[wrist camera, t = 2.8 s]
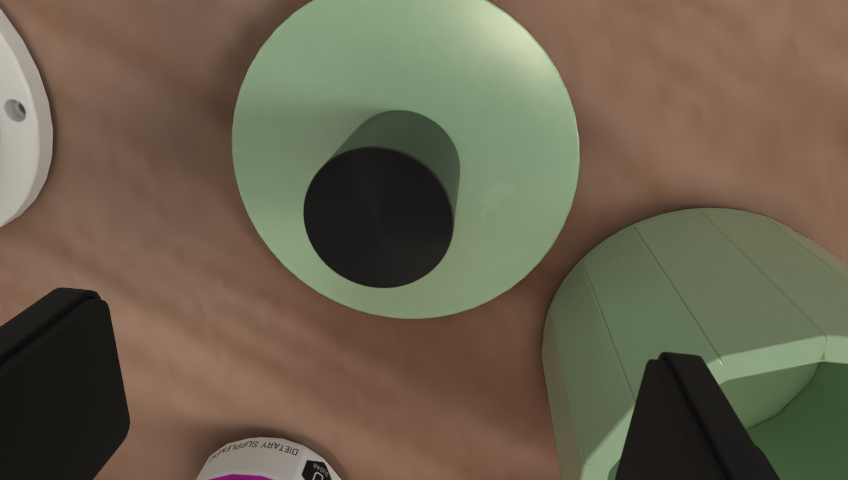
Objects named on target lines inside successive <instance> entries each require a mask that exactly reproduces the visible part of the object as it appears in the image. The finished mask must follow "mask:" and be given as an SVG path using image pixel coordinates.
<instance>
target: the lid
mask: <svg viewBox="0 0 848 480" xmlns="http://www.w3.org/2000/svg"><path fill="white" fill-rule="evenodd" d="M232 157H233V164H234V172H235V177H236V181H237V184H238V188H239V192H240V196H241V198H242V201H243V203H244V206H245V208H246V210H247V213H248V215H249V217H250V219H251V221H252V223H253V225H254V226H255V228H256V230H257V232H258V234H259V235H260V236H261V238H262V239H263V241H264V242H265V243H266V245H267V246H268V248H269V249H270V250H271V252H272V253H273V254H274V255H275V256H276V257H277V258H278V259H279V260H280V262H281V263H282V264H283V265H284V266H285V267H286V268H287V269H288V270H290V271H291V272H292V273H293V274H294V275H295V276H296V277H298V278H299V279H300V280H301V281H303V282H304V283H305V284H307V285H308V286H310V287H311V288H313V289H314V290H315V291H317V292H319V293H320V294H322V295H324V296H326V297H328V298H330V299H332V300H333V301H335V302H338V303H340V304H343V305H345V306H348V307H350V308H352V309H355V310H359V311H362V312H366V313H369V314H373V315H379V316H385V317H391V318H404V319H421V318H435V317H440V316H446V315H451V314H456V313H459V312H462V311H465V310H469V309H472V308H475V307H477V306H479V305H481V304H484V303H486V302H488V301H490V300H492V299H494V298H496V297H497V296H499V295H501V294H502V293H504V292H506V291H507V290H509V289H510V288H512V287H513V286H514V285H515V284H517V283H518V282H519V281H521V280H522V279H523V278H524V277H526V276H527V275H528V274H529V273H530V272H531V271H532V270H533V268H534V267H535V266H536V265H537V264H538V263H539V262H540V261H541V260H542V259H543V257H544V256H545V255H546V253H547V252H548V251H549V249H550V248H551V247H552V246H553V244H554V242H555V240H556V239H557V237H558V235H559V233H560V232H561V230H562V228H563V226H564V224H565V221H566V219H567V217H568V214H569V212H570V209H571V207H572V203H573V199H574V195H575V191H576V187H577V181H578V173H579V164H580V155H579V135H578V129H577V123H576V117H575V113H574V110H573V107H572V104H571V100H570V97H569V94H568V91H567V89H566V87H565V85H564V83H563V81H562V79H561V77H560V74H559V72H558V70H557V69H556V67H555V66H554V64H553V63H552V61H551V60H550V58H549V57H548V55H547V53H546V52H545V50H544V49H543V48H542V47H541V46H540V44H539V43H538V42H537V41H536V40H535V39H534V38H533V36H532V35H531V34H530V33H529V32H528V31H527V30H526V29H525V28H524V27H523V26H522V25H520V24H519V23H518V22H517V21H516V20H515V19H513V18H512V17H511V16H510V15H509V14H508V13H506V12H505V11H503V10H502V9H500V8H498V7H497V6H495V5H494V4H492V3H491V2H489V1H487V0H312V1H311V2H309V3H308V4H306V5H305V6H303V7H302V8H300V9H299V10H297V11H296V12H294V13H293V14H292V15H291V16H290V17H289V18H287V19H286V20H285V21H284V22H283V23H282V24H281V25H280V26H279V27H278V28H276V30H275V31H274V32H273V33H272V34H271V36H270V37H269V38H268V39H267V41H266V42H265V43H264V44H263V45H262V47H261V48H260V50H259V51H258V53H257V55H256V56H255V58H254V60H253V61H252V63H251V65H250V66H249V69H248V71H247V73H246V76H245V78H244V80H243V83H242V85H241V88H240V91H239V95H238V99H237V102H236V106H235V110H234V118H233V126H232Z"/></svg>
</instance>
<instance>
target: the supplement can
mask: <svg viewBox="0 0 848 480" xmlns="http://www.w3.org/2000/svg"><path fill="white" fill-rule="evenodd" d="M196 480H341V479H340V478H339V476H338V475H337V474H336V473H335V472H334V470H333V469H332V468H331V467H330V465H329V464H328V463H327V462H326V461H325V460H324V459H323V458H322V457H321V456H319V455H318V454H316V453H315V452H313V451H312V450H310V449H309V448H307V447H306V446H304V445H301V444H298V443H295V442H292V441H289V440H286V439H283V438H268V437H257V438H248V439H244V440H240V441H236V442H232V443H228V444H226V445H225V446H223V447H222V448H220V449H219V450H218V451H216V452H215V453H213V454H212V455H211V456H209V458H208V460H207V461H206V463H205V465H204V467H203V468H202V470H201V472H200V473H199V475H198V477H197V479H196Z"/></svg>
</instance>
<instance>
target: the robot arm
mask: <svg viewBox="0 0 848 480" xmlns="http://www.w3.org/2000/svg"><path fill="white" fill-rule="evenodd" d="M52 147H53V126H52V120H51V114H50V107H49V101H48V98H47V95H46V92H45V89H44V86H43V83H42V80H41V77H40V74H39V71H38V69H37V67H36V65H35V63H34V61H33V59H32V57H31V55H30V53H29V51H28V49H27V47H26V45H25V43H24V41H23V40H22V38H21V37H20V35H19V34H18V32H17V31H16V30H15V28H14V27H13V25H12V24H11V22H10V21H9V20H8V18H7V17H6V15H5V14H4V13H3V11H2V10H1V9H0V227H2V226H4V225H6V224H7V223H9V222H11V221H12V220H14V219H15V218H17V217H19V216H20V215H22V214H23V212H24V211H25V210H26V209H27V208H28V207H29V206H30V205H31V204H32V203H33V202H34V201H35V200H36V198H37V196H38V194H39V192H40V191H41V189H42V187H43V185H44V183H45V181H46V179H47V175H48V171H49V167H50V163H51V159H52ZM129 426H130V417H129V412H128V406H127V401H126V396H125V391H124V385H123V380H122V375H121V369H120V364H119V359H118V353H117V348H116V343H115V337H114V332H113V327H112V321H111V316H110V311H109V307H108V304H107V303H106V302H105V301H104V300H101V298H100V296H99V295H98V293H97V292H95V291H92V290H83V289H73V288H57V289H55V290H53V291H51V292H50V293H48V294H47V295H46V296H44V297H43V298H41V299H40V300H38V301H37V302H36V303H34V304H33V305H31V306H30V307H28V308H27V309H25V310H24V311H23V312H21V313H20V314H18V315H17V316H15V317H14V318H12V319H11V320H10V321H8V322H7V323H5V324H4V325H2V326H1V327H0V480H93V479H94V477H95V476H96V475H97V474H98V472H99V471H100V470H101V469H102V467H103V466H104V465H105V464H106V462H107V461H108V460H109V459H110V457H111V456H112V455H113V454H114V452H115V451H116V450H117V449H118V447H119V446H120V445H121V444H122V442H123V441H124V439H125V438H126V436H127V433H128V430H129ZM615 480H780V478H779V477H778V475H777V473H776V472H775V470H774V469H773V467H772V465H771V464H770V462H769V460H768V459H767V457H766V455H765V454H764V453H763V452H762V450H761V449H760V448H759V447H758V446H756V445H755V444H754V443H753V441H752V439H751V438H750V436H749V434H748V433H747V431H746V429H745V428H744V426H743V424H742V423H741V421H740V419H739V418H738V416H737V414H736V413H735V411H734V409H733V408H732V406H731V404H730V403H729V401H728V399H727V398H726V396H725V395H724V393H723V391H722V390H721V388H720V386H719V385H718V383H717V381H716V380H715V378H714V376H713V375H712V373H711V371H710V370H709V368H708V366H707V365H706V363H705V361H704V360H703V359H702V357H701V356H698V355H692V354H683V353H673V352H662V353H661V354H660V355H659V357H658V359H650V360H648V362H647V364H646V367H645V370H644V374H643V377H642V381H641V385H640V388H639V392H638V396H637V399H636V403H635V407H634V410H633V414H632V418H631V421H630V425H629V429H628V432H627V436H626V440H625V443H624V447H623V451H622V454H621V458H620V462H619V465H618V469H617V473H616V476H615Z"/></svg>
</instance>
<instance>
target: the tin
mask: <svg viewBox="0 0 848 480" xmlns="http://www.w3.org/2000/svg"><path fill="white" fill-rule="evenodd" d="M662 352H673V353H683V354H692V355H698V356H701V357H702V359H703V360H704V361H705V363H706V365H707V366H708V368H709V370H710V371H711V373H712V375H713V376H714V378H715V380H716V381H717V383H718V385H719V386H720V388H721V390H722V391H723V393H724V395H725V396H726V398H727V399H728V401H729V403H730V404H731V406H732V408H733V409H734V411H735V413H736V414H737V416H738V418H739V419H740V421H741V423H742V424H743V426H744V428H745V429H746V431H747V433H748V434H749V436H750V438H751V439H752V441H753V443H754V444H755V445H756V446H758V447H759V448H760V449H761V450H762V452H763V453H764V454H765V455H766V457H767V459H768V460H769V462H770V464H771V465H772V467H773V469H774V470H775V472H776V473H777V475H778V477H779V478H780V480H848V266H847V265H845V264H844V263H843V262H841V261H840V260H839V259H837V258H836V257H835V256H833V255H832V254H831V253H829V252H828V251H827V250H825V249H824V248H823V247H821V246H820V245H819V244H817V243H816V242H814V241H812V240H810V239H808V238H806V237H805V236H803V235H801V234H799V233H797V232H796V231H794V230H793V229H791V228H790V227H788V226H786V225H784V224H782V223H780V222H778V221H775V220H773V219H771V218H769V217H767V216H763V215H759V214H755V213H752V212H748V211H742V210H735V209H729V208H695V209H684V210H679V211H674V212H669V213H664V214H660V215H657V216H654V217H651V218H648V219H645V220H642V221H640V222H637V223H635V224H633V225H631V226H628V227H626V228H624V229H622V230H620V231H619V232H617V233H615V234H614V235H612V236H610V237H608V238H607V239H605V240H604V241H602V242H601V243H600V244H599V245H597V246H596V247H595V248H593V249H592V250H591V251H589V252H588V253H587V254H586V255H585V256H584V257H583V258H582V259H581V260H580V261H579V262H578V263H577V264H576V265H575V266H574V267H573V269H572V270H571V271H570V273H569V274H568V275H567V276H566V278H565V279H564V280H563V282H562V284H561V285H560V287H559V289H558V290H557V292H556V294H555V295H554V298H553V300H552V302H551V305H550V307H549V310H548V313H547V317H546V321H545V325H544V333H543V347H542V353H541V354H542V363H543V369H544V375H545V381H546V387H547V393H548V399H549V405H550V411H551V417H552V423H553V429H554V435H555V441H556V447H557V453H558V459H559V465H560V471H561V477H562V480H615V476H616V473H617V469H618V465H619V462H620V458H621V454H622V451H623V447H624V443H625V440H626V436H627V432H628V429H629V425H630V421H631V418H632V414H633V410H634V407H635V403H636V399H637V396H638V392H639V388H640V385H641V381H642V377H643V374H644V370H645V367H646V364H647V362H648V360H650V359H658V357H659V355H660V354H661V353H662Z"/></svg>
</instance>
